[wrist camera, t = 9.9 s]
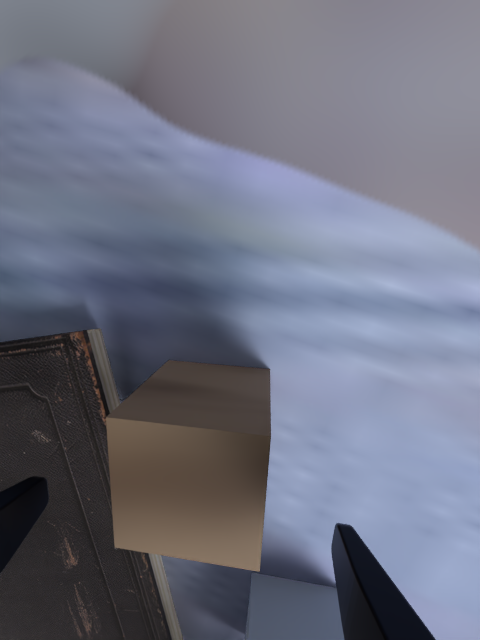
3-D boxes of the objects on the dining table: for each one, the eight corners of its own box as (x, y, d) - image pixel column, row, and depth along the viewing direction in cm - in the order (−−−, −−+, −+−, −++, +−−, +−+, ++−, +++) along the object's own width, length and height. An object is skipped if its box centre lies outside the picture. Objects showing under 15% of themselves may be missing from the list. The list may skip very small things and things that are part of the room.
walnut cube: (262, 458, 13) (259, 571, 8) (170, 447, 14) (114, 547, 9) (269, 368, 12) (270, 436, 7) (169, 359, 13) (105, 417, 8)
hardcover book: (113, 320, 13) (81, 331, 11) (197, 649, 17) (186, 707, 15) (-130, 356, 15) (-199, 371, 13) (-4, 640, 19) (-40, 690, 17)
